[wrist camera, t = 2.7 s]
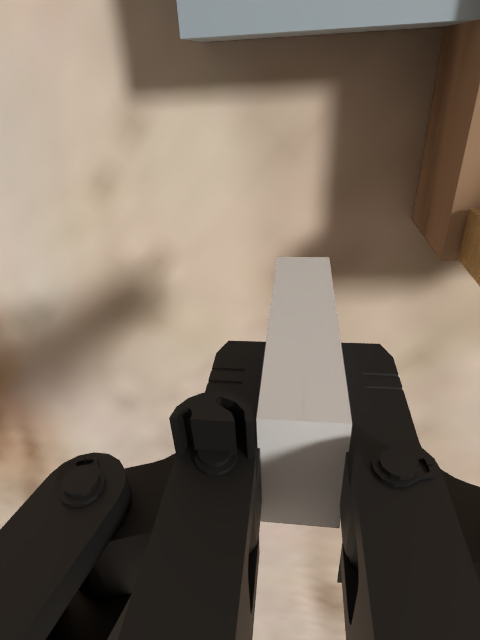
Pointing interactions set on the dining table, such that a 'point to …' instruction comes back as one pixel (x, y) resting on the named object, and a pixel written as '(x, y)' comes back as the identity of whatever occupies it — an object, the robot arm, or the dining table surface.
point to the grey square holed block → (314, 17)
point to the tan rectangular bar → (471, 245)
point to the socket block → (451, 144)
